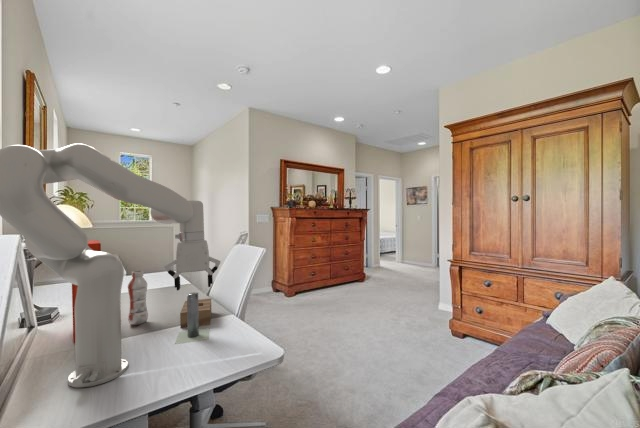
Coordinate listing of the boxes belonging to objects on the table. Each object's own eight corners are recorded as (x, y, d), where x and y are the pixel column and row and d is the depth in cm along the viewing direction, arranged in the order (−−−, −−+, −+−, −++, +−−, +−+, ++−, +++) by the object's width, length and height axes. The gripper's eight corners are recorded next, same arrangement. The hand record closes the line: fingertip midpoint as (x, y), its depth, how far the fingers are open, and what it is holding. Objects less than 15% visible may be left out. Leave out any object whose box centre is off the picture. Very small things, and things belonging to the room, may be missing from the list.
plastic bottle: (152, 320, 115) (151, 269, 115) (140, 327, 109) (139, 273, 109) (136, 320, 116) (136, 269, 116) (123, 327, 109) (123, 273, 109)
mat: (208, 340, 96) (208, 339, 96) (174, 345, 93) (174, 343, 93) (209, 329, 105) (209, 328, 105) (178, 333, 102) (178, 332, 102)
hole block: (210, 325, 109) (209, 309, 109) (180, 329, 106) (180, 312, 106) (211, 312, 124) (211, 298, 124) (185, 315, 121) (185, 300, 121)
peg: (198, 336, 98) (197, 294, 98) (187, 338, 97) (186, 295, 97) (199, 332, 101) (198, 292, 101) (188, 334, 100) (187, 293, 100)
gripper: (161, 239, 93) (163, 293, 93) (219, 236, 99) (221, 287, 99) (165, 237, 100) (167, 288, 100) (219, 235, 106) (221, 282, 106)
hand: (194, 287), depth 100 cm, fingers open, 9 cm apart
